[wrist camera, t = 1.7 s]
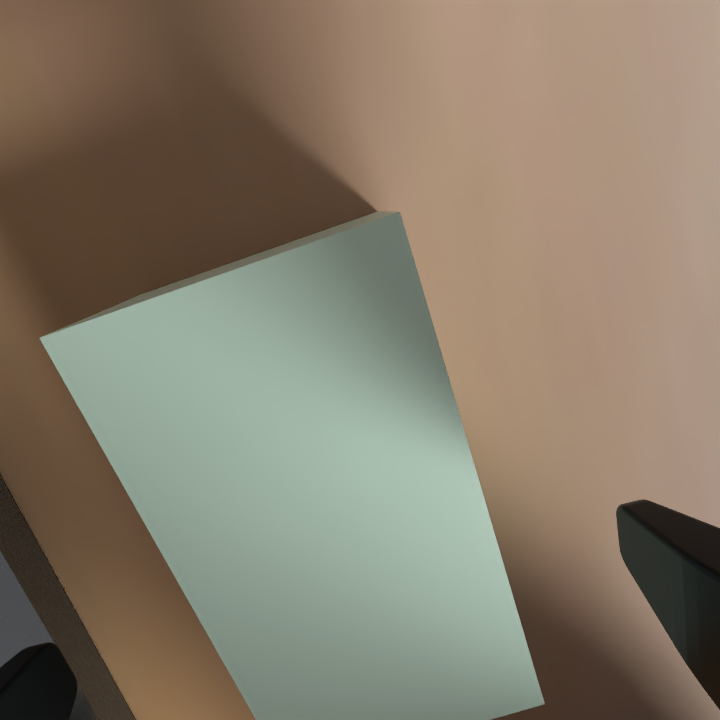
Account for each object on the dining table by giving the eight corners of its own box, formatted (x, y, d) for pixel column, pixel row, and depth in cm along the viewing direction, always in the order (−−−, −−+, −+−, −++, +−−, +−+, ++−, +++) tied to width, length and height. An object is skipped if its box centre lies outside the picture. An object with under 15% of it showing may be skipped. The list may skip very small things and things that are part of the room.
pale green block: (376, 211, 10) (399, 210, 7) (485, 563, 13) (544, 704, 10) (145, 292, 11) (38, 337, 7) (301, 620, 14) (288, 777, 10)
